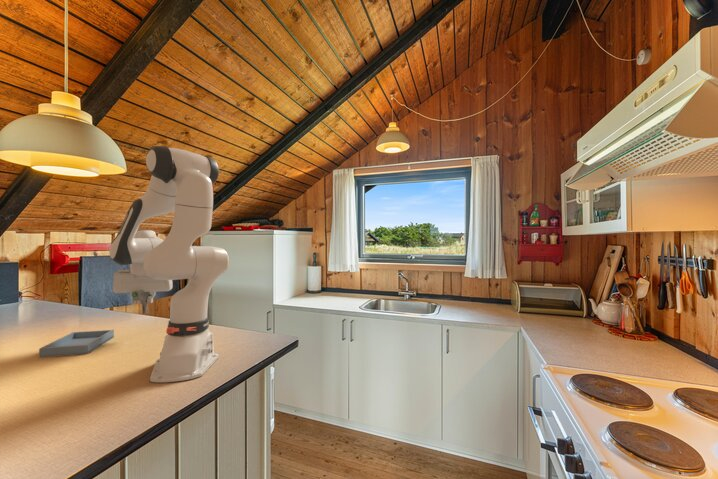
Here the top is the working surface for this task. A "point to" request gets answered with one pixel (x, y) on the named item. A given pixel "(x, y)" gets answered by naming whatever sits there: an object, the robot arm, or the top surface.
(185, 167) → the robot arm
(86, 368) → the top surface
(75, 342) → the parts tray
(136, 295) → the mechanical component
